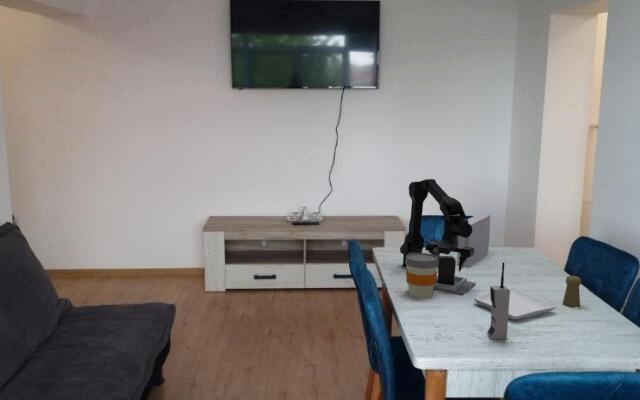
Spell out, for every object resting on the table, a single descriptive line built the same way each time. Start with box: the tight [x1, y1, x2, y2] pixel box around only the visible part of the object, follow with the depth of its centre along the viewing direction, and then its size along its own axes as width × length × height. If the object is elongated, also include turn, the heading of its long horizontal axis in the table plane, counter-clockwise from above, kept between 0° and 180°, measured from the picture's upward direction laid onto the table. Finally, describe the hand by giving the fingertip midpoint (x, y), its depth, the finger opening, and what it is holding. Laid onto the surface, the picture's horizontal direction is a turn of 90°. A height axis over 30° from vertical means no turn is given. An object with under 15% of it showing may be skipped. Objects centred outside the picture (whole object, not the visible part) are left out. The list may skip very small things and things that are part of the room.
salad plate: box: [472, 288, 557, 320], centre depth 207 cm, size 21×21×3 cm
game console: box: [456, 213, 491, 268], centre depth 268 cm, size 6×27×20 cm, turn 145°
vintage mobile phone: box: [486, 262, 510, 341], centre depth 180 cm, size 4×5×25 cm
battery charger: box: [437, 255, 457, 284], centre depth 231 cm, size 7×4×11 cm, turn 83°
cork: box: [562, 275, 582, 309], centre depth 210 cm, size 6×6×11 cm
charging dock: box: [433, 275, 476, 296], centre depth 231 cm, size 18×15×2 cm
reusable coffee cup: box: [405, 252, 438, 299], centre depth 221 cm, size 13×13×15 cm
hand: (448, 269), depth 230 cm, fingers open, 9 cm apart
